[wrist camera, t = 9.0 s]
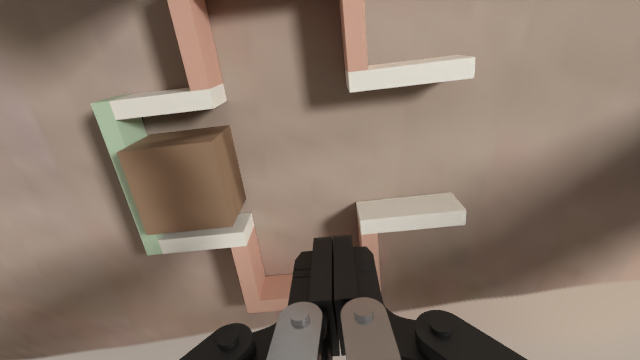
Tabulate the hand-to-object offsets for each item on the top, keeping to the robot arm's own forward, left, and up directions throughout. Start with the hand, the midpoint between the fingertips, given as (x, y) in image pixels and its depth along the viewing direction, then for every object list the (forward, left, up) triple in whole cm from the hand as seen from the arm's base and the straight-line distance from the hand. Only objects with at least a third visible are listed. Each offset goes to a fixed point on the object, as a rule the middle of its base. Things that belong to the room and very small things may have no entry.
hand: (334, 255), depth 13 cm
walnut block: (+10, 0, -13) cm, 16 cm away
